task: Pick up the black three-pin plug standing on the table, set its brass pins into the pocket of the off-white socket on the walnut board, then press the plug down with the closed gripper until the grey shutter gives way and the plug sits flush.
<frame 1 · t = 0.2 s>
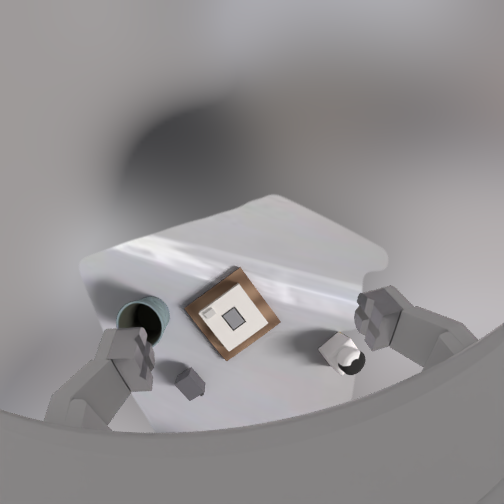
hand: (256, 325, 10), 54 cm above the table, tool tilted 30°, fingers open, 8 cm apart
teal cup: (152, 315, 61), on the table
socket: (233, 317, 60), on the mounting board, point 3 cm above the table
medicine bottle: (334, 349, 66), on the table
plug: (191, 377, 61), on the table
mounting board: (232, 314, 63), on the table
shutter: (233, 318, 59), point 4 cm above the table, slide at 0.0 cm
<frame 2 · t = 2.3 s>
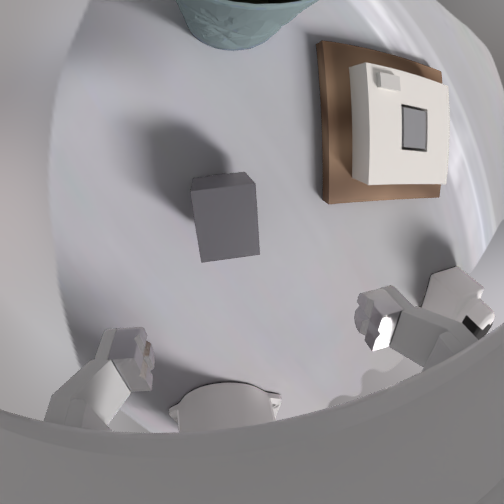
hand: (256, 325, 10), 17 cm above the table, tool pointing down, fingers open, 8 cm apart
teal cup: (231, 15, 17), on the table
socket: (407, 127, 21), on the mounting board, point 3 cm above the table
medicine bottle: (438, 287, 37), on the table
plug: (221, 200, 25), on the table
mounting board: (388, 125, 24), on the table
shutter: (412, 128, 20), point 4 cm above the table, slide at 0.0 cm
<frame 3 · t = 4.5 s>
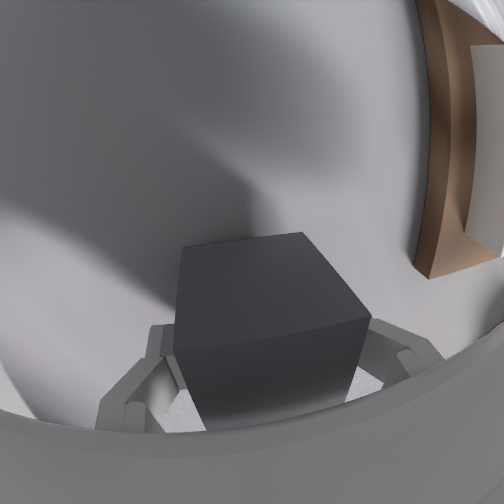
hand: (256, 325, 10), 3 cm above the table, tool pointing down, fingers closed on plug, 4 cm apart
plug: (243, 280, 12), on the table, touching gripper
mounting board: (497, 146, 11), on the table
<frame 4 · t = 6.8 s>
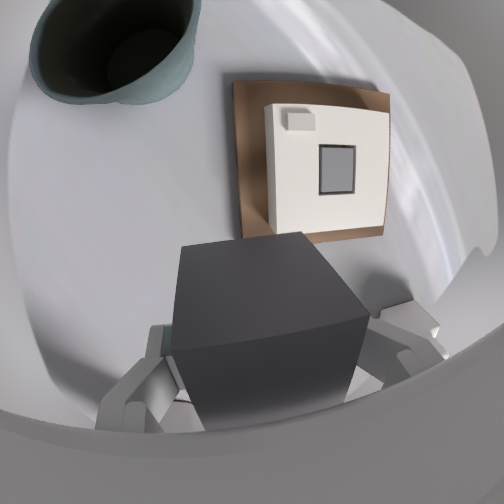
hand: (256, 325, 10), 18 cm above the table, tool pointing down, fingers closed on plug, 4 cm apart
teal cup: (146, 65, 19), on the table
socket: (331, 167, 22), on the mounting board, point 3 cm above the table
medicine bottle: (392, 320, 38), on the table
plug: (242, 280, 12), point 15 cm above the table, touching gripper
mounting board: (317, 163, 25), on the table
shutter: (335, 169, 22), point 4 cm above the table, slide at 0.0 cm
when the fingers open (8 cm above the table, at t = 9.1 s): plug stays where it is, resting on shutter.
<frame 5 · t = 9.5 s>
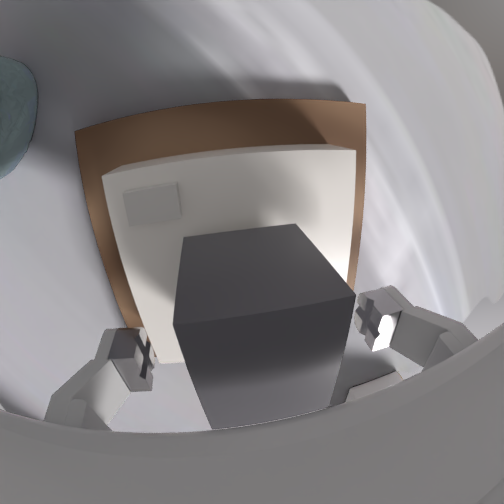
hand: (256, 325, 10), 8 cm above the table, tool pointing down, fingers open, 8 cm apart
socket: (239, 262, 14), on the mounting board, point 3 cm above the table
medicine bottle: (367, 392, 30), on the table
plug: (240, 270, 13), point 4 cm above the table, touching shutter
mounting board: (233, 237, 17), on the table
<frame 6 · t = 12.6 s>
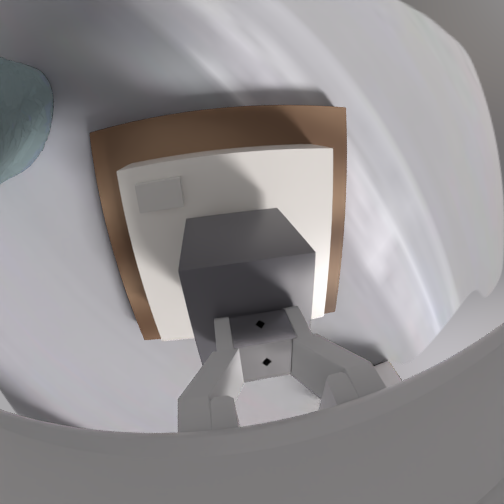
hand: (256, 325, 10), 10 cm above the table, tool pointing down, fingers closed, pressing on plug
teal cup: (13, 123, 12), on the table
socket: (233, 247, 16), on the mounting board, point 3 cm above the table
medicine bottle: (360, 382, 32), on the table
plug: (233, 250, 15), point 4 cm above the table, touching gripper, shutter
mounting board: (228, 227, 19), on the table
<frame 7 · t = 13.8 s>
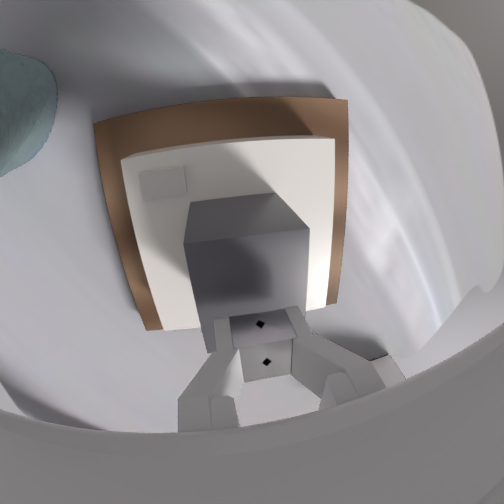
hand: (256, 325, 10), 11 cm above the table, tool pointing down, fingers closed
teal cup: (17, 116, 12), on the table
socket: (236, 236, 16), on the mounting board, point 3 cm above the table
medicine bottle: (361, 376, 32), on the table
plug: (234, 233, 16), point 3 cm above the table, touching socket
mounting board: (231, 217, 19), on the table
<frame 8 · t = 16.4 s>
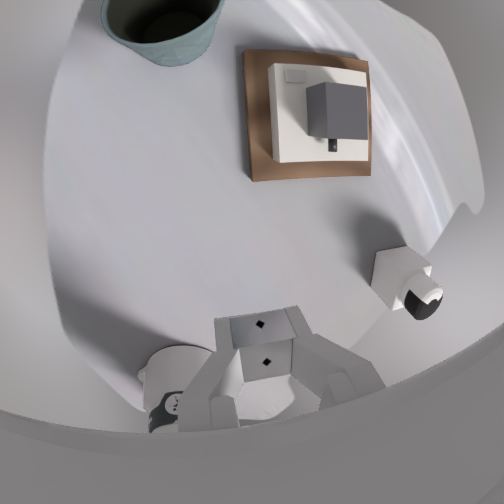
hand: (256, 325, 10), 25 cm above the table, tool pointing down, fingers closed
teal cup: (174, 38, 23), on the table
socket: (321, 113, 27), on the mounting board, point 3 cm above the table
medicine bottle: (388, 265, 43), on the table
plug: (320, 112, 27), point 3 cm above the table, touching socket
mounting board: (311, 113, 30), on the table
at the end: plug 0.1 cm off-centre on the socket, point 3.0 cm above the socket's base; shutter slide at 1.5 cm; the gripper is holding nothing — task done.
